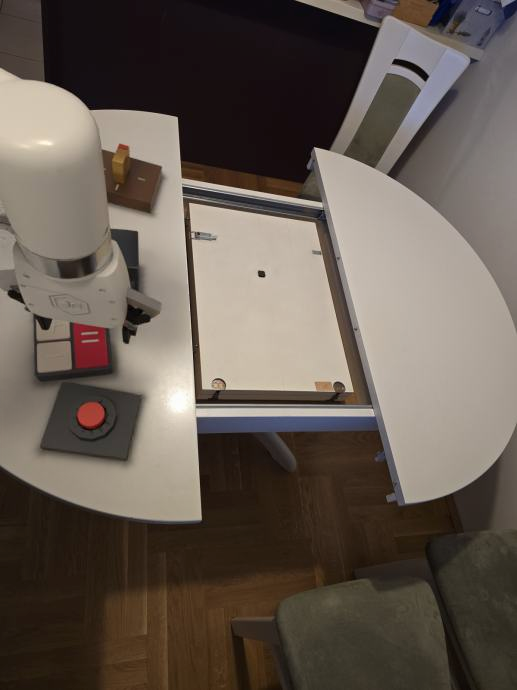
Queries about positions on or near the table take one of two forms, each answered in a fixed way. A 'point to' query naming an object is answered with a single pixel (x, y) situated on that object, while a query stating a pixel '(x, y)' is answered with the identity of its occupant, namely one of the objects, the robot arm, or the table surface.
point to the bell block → (102, 440)
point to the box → (129, 253)
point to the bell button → (91, 415)
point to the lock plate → (132, 183)
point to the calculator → (71, 351)
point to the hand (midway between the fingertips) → (89, 327)
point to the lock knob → (121, 163)
